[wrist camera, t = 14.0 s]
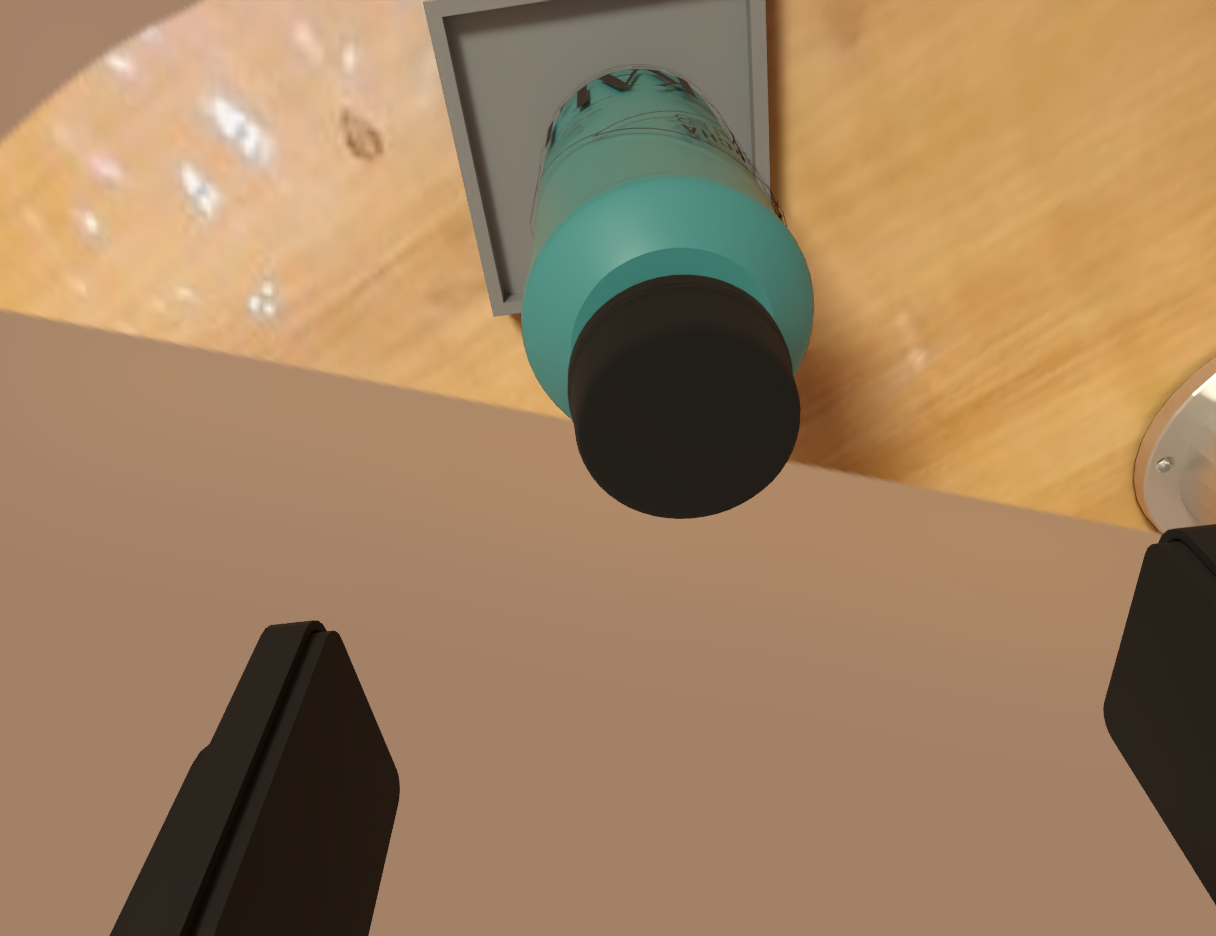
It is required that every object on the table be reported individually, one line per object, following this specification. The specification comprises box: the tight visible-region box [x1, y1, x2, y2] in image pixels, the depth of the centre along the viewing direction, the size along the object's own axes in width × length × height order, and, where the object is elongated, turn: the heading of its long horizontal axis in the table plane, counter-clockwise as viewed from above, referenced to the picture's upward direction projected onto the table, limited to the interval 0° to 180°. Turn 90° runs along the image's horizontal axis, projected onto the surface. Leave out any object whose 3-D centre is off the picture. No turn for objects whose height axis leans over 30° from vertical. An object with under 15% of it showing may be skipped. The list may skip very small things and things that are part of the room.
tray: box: [423, 0, 771, 317], centre depth 31 cm, size 11×11×2 cm
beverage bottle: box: [521, 64, 814, 519], centre depth 22 cm, size 6×7×20 cm
